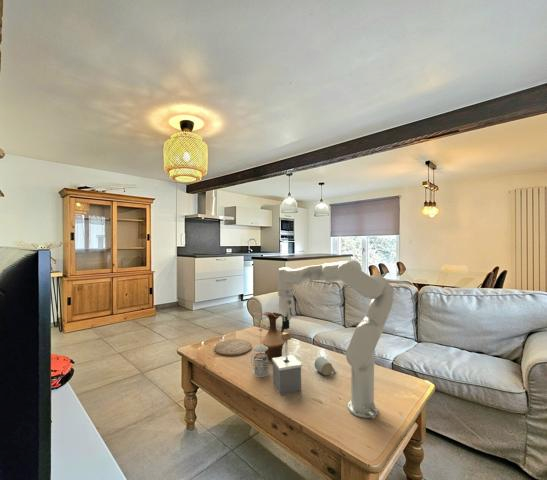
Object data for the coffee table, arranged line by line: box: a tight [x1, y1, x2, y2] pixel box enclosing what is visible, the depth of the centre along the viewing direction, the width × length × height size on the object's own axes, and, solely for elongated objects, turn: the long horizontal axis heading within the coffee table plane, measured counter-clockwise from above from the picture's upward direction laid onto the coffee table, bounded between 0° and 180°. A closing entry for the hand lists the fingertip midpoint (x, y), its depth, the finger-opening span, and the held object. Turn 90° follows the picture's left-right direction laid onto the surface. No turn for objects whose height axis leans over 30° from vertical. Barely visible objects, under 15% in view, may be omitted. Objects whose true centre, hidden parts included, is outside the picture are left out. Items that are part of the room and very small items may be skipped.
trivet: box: [213, 338, 252, 357], centre depth 193 cm, size 25×25×2 cm
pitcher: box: [259, 311, 285, 361], centre depth 180 cm, size 18×17×28 cm
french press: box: [250, 328, 271, 378], centre depth 158 cm, size 10×12×25 cm
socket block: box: [271, 354, 303, 396], centre depth 146 cm, size 16×12×13 cm
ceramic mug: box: [313, 356, 336, 376], centre depth 159 cm, size 11×8×8 cm
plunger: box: [280, 331, 292, 363], centre depth 144 cm, size 5×5×18 cm
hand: (285, 328), depth 144 cm, fingers closed
